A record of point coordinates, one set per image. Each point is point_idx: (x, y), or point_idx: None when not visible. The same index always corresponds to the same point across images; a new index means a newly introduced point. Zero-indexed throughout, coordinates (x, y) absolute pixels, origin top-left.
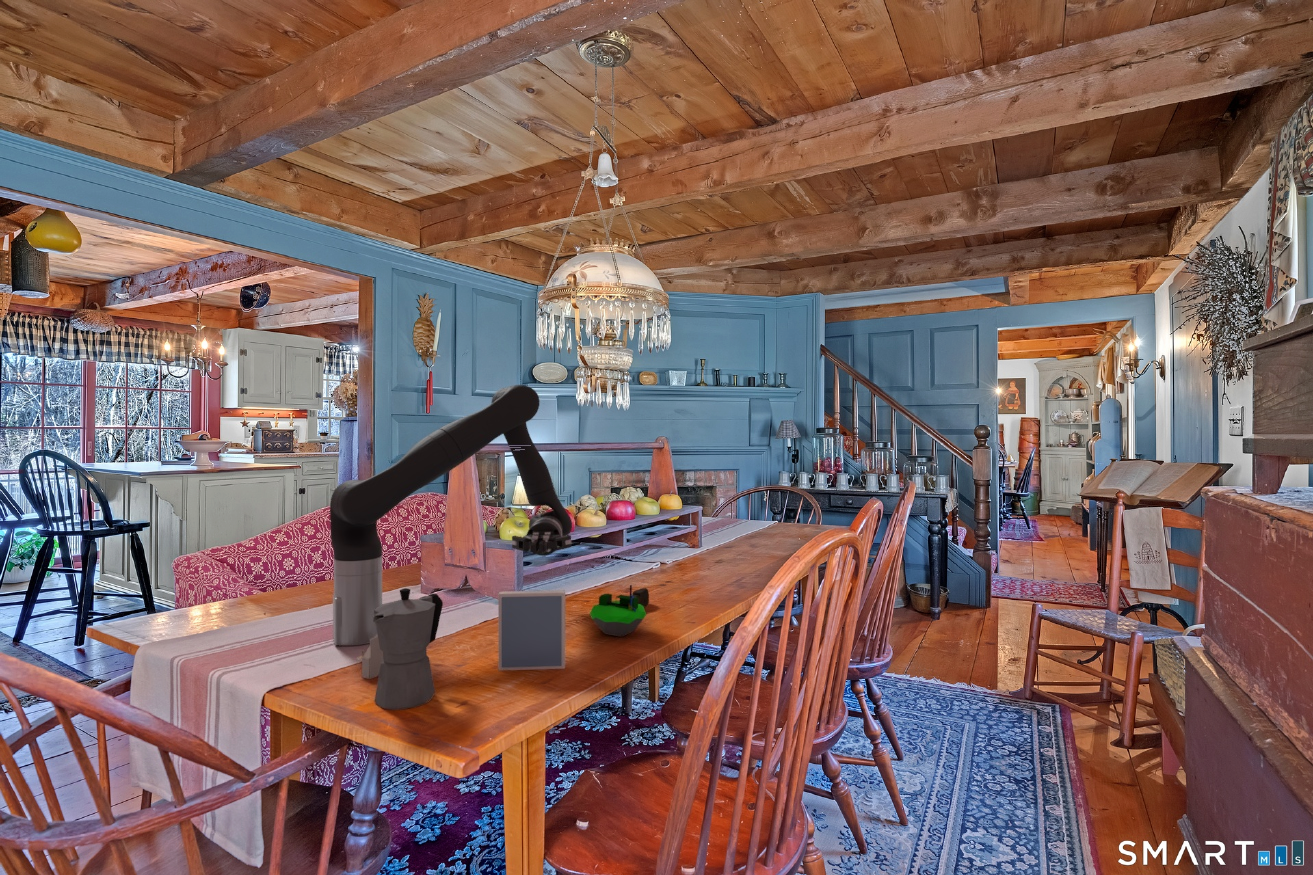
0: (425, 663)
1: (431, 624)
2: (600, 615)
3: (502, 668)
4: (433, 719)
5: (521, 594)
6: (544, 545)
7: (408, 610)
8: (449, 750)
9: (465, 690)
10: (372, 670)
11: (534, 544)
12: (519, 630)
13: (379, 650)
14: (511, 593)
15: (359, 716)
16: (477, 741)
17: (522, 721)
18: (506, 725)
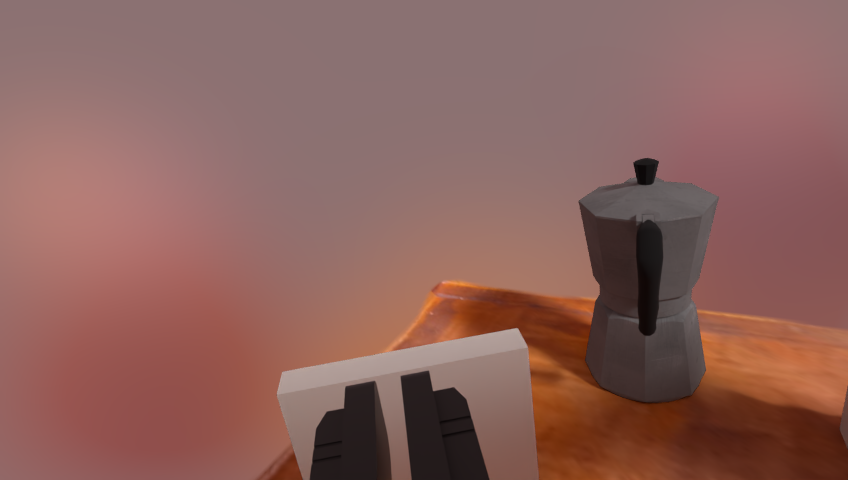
0: (598, 310)
1: (597, 251)
2: None
3: None
4: (536, 330)
5: (438, 346)
6: (335, 413)
7: (606, 187)
8: (470, 292)
9: (549, 411)
10: (844, 417)
11: (415, 375)
12: None
13: None
14: (472, 337)
15: None
16: (445, 307)
17: (400, 345)
18: (420, 335)
